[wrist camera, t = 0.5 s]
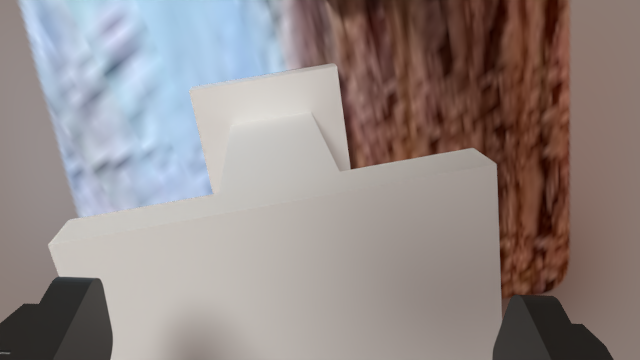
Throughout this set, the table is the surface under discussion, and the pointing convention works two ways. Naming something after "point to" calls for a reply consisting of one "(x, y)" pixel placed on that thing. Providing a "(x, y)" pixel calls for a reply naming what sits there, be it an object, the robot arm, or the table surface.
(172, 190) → the table surface
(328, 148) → the pedestal
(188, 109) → the table surface
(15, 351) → the robot arm
